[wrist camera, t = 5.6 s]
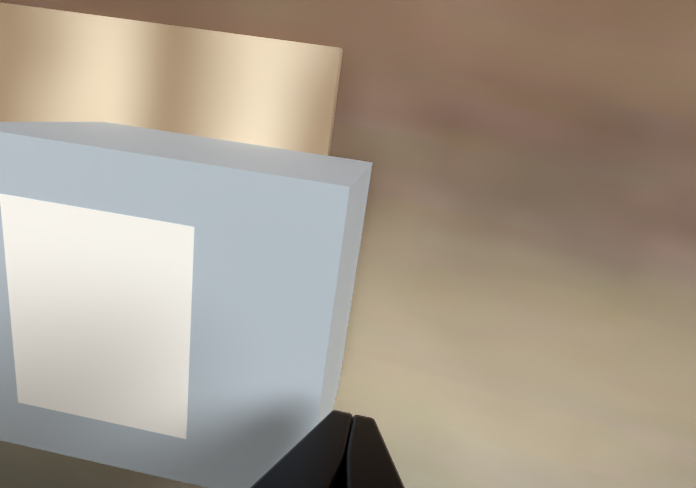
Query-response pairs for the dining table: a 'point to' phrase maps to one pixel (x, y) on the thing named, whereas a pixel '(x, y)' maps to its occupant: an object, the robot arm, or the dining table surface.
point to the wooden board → (166, 78)
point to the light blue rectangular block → (171, 296)
